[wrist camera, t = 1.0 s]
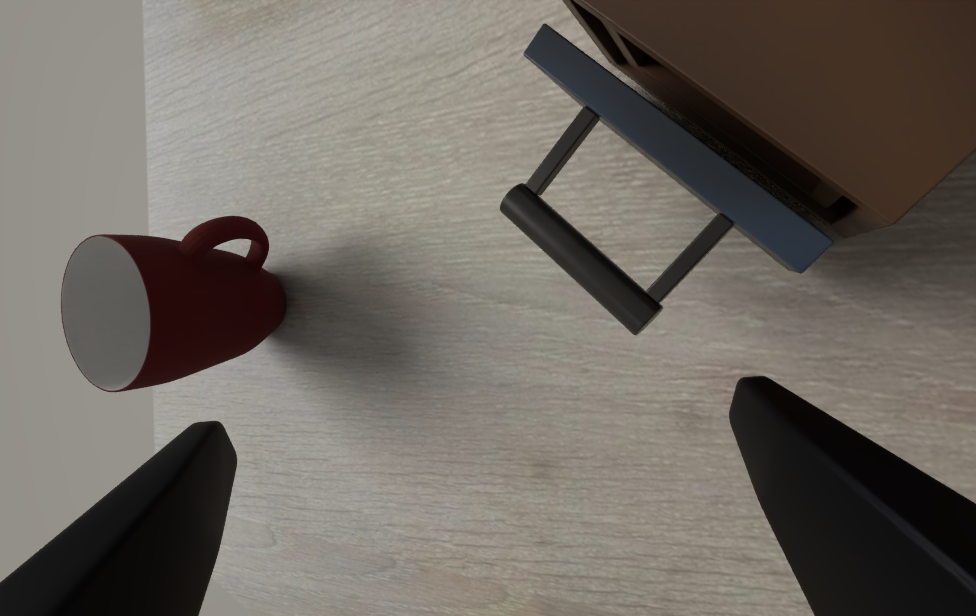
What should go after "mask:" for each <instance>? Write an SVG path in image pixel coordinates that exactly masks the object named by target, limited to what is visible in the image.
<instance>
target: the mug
mask: <svg viewBox="0 0 976 616" xmlns="http://www.w3.org/2000/svg"><path fill="white" fill-rule="evenodd" d="M234 239H250V240H251V246H250V250H249V252H248V254H247V256H246V258H245V257H243V256H240V255H237V254H234V253H231V252H227V251H222V250H218V249H213V248H214V247H215V246H217V245H219V244H221V243H224V242H227V241H229V240H234ZM268 251H269V242H268V238H267V235H266V234H265V232H264V230H263V229H262V228H261V227H260V226H259V225H258V224H257V223H256V222H254V221H252V220H250V219H248V218H245V217H240V216H225V217H220V218H216V219H212V220H209V221H207V222H204V223H202V224H200V225H198V226H197V227H195V228H194V229H192V230H191V231H190V232H189V233H188V234H187V235H186V236H185V237H184V239H183V240H182V242H181V241H176V240H171V239H166V238H160V237H152V236H141V235H140V236H139V235H95V236H91V237H89V238H87V239H85V240H84V241H83V242H81V243H80V244H79V246H78V247H77V248H76V249H75V251H74V252H73V254H72V255H71V257H70V259H69V261H68V264H67V267H66V270H65V273H64V278H63V283H62V292H61V314H62V323H63V328H64V333H65V337H66V341H67V344H68V347H69V350H70V352H71V355H72V357H73V359H74V361H75V363H76V364H77V366H78V368H79V369H80V371H81V372H82V374H83V375H84V376H85V377H86V378H87V379H88V380H89V381H90V382H91V383H92V384H93V385H95V386H96V387H98V388H100V389H101V390H104V391H107V392H121V391H127V390H132V389H138V388H144V387H149V386H154V385H159V384H163V383H167V382H171V381H174V380H177V379H180V378H183V377H186V376H188V375H191V374H194V373H196V372H199V371H201V370H204V369H207V368H209V367H212V366H215V365H217V364H220V363H222V362H225V361H228V360H230V359H233V358H235V357H238V356H240V355H243V354H245V353H246V352H248V351H250V350H251V349H253V348H254V347H256V346H257V345H258V344H260V343H261V342H262V341H263V340H264V339H265V338H266V337H268V336H269V335H270V334H271V333H272V332H273V331H274V330H275V329H276V328H277V327H278V326H279V325H280V323H281V322H282V320H283V318H284V315H285V310H286V298H285V293H284V290H283V288H282V285H281V284H280V282H279V281H278V280H277V278H276V277H274V276H273V275H272V274H271V273H269V272H268V271H266V270H265V269H263V268H262V265H263V264H264V262H265V260H266V258H267V255H268Z"/></svg>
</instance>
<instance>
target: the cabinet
mask: <svg viewBox="0 0 976 616" xmlns="http://www.w3.org/2000/svg"><path fill="white" fill-rule="evenodd" d="M563 2H564V3H565V4H566V6H567V7H568V8H569V10H570V11H571V12H572V14H573V15H574V16H575V18H576V19H577V20H578V22H579V23H580V24H581V26H582V27H583V28H584V30H585V31H586V32H587V34H588V35H589V36H590V38H591V39H592V40H593V42H594V43H595V44H596V46H597V47H598V48H599V50H600V51H601V52H602V54H603V55H604V56H605V57H606V59H607V60H608V61H609V63H611V64H612V65H613V66H615V67H616V68H617V69H619V70H620V71H621V72H623V73H624V74H625V75H627V76H628V77H629V78H631V79H632V80H633V81H635V82H636V83H637V84H639V85H640V86H641V87H643V88H644V89H645V90H647V91H648V92H649V93H651V94H652V95H653V96H655V97H656V98H657V99H659V100H660V101H661V102H663V103H664V104H666V105H667V106H668V107H670V108H671V109H672V110H674V111H675V112H676V113H678V114H679V115H680V116H682V117H683V118H684V119H686V120H687V121H688V122H690V123H691V124H692V125H694V126H695V127H696V128H698V129H699V130H700V131H702V132H703V133H704V134H706V135H707V136H708V137H710V138H711V139H712V140H714V141H715V142H716V143H718V144H719V145H720V146H722V147H723V148H724V149H726V150H727V151H728V152H730V153H731V154H732V155H734V156H735V157H736V158H738V159H739V160H740V161H742V162H743V163H744V164H746V165H747V166H748V167H750V168H751V169H752V170H754V171H755V172H756V173H758V174H759V175H761V176H762V177H763V178H765V179H766V180H767V181H769V182H770V183H771V184H773V185H774V186H775V187H777V188H778V189H779V190H781V191H782V192H783V193H785V194H786V195H787V196H789V197H790V198H791V199H793V200H794V201H795V202H797V203H798V204H799V205H801V206H802V207H803V208H805V209H806V210H807V211H809V212H810V213H811V214H813V215H814V216H815V217H817V218H818V219H819V220H821V221H822V222H823V223H825V224H826V225H827V226H829V227H830V228H831V229H833V230H834V231H835V232H837V233H838V234H839V235H841V236H842V237H843V238H848V237H851V236H855V235H858V234H862V233H865V232H868V231H872V230H875V229H879V228H882V227H885V226H889V225H893V224H895V223H896V222H897V221H899V220H900V219H901V218H902V217H903V216H904V215H905V214H906V213H907V212H908V211H909V210H911V209H912V208H913V207H914V206H915V205H916V204H917V203H918V202H919V201H920V200H922V199H923V198H924V197H925V196H926V195H927V194H928V193H929V192H930V191H931V190H932V189H934V188H935V187H936V186H937V185H938V184H939V183H940V182H941V181H942V180H943V179H945V178H946V177H947V176H948V175H949V174H950V173H951V172H952V171H953V170H954V169H955V168H957V167H958V166H959V165H960V164H961V163H962V162H963V161H964V160H965V159H966V158H967V157H969V156H970V155H971V154H972V153H973V152H974V151H975V150H976V0H563ZM601 21H602V22H604V23H605V24H607V25H608V26H609V27H611V28H612V29H614V30H615V31H616V32H618V33H619V34H620V35H622V36H623V37H625V38H626V39H627V40H629V41H630V42H632V43H633V44H634V45H636V46H637V47H639V48H640V49H641V50H643V51H644V52H645V53H647V54H648V55H650V56H651V57H652V58H654V59H655V60H657V61H658V62H659V63H661V64H662V65H663V66H665V67H666V68H668V69H669V70H670V71H672V72H673V73H675V74H676V75H677V76H679V77H680V78H681V79H683V80H684V81H686V82H687V83H688V84H690V85H691V86H693V87H694V88H695V89H697V90H698V91H700V92H701V93H702V94H704V95H705V96H706V97H708V98H709V99H711V100H712V101H713V102H715V103H716V104H718V105H719V106H720V107H722V108H723V109H724V110H726V111H727V112H729V113H730V114H731V115H733V116H734V117H736V118H737V119H738V120H740V121H741V122H742V123H744V124H745V125H747V126H748V127H749V128H751V129H752V130H754V131H755V132H756V133H758V134H759V135H761V136H762V137H763V138H765V139H766V140H767V141H769V142H770V143H772V144H773V145H774V146H776V147H777V148H779V149H780V150H781V151H783V152H784V153H785V154H787V155H788V156H790V157H791V158H792V159H794V160H795V161H797V162H798V163H799V164H801V165H802V166H803V167H805V168H806V169H808V170H809V171H810V172H812V173H813V174H815V175H816V176H817V177H819V178H820V179H822V180H823V181H824V182H826V183H827V184H828V185H830V186H831V187H833V188H834V189H835V190H837V191H838V192H840V193H841V194H842V195H843V196H842V197H841V198H840V199H838V200H837V201H836V202H835V203H834V204H832V205H831V206H830V207H829V208H824V207H823V206H822V205H820V204H819V203H818V202H816V201H815V200H814V199H812V198H811V197H809V196H808V195H807V194H805V193H804V192H803V191H801V190H800V189H799V188H797V187H796V186H795V185H793V184H792V183H790V182H789V181H788V180H786V179H785V178H784V177H782V176H781V175H780V174H778V173H777V172H776V171H774V170H773V169H772V168H770V167H769V166H767V165H766V164H765V163H763V162H762V161H761V160H759V159H758V158H757V157H755V156H754V155H753V154H751V153H750V152H748V151H747V150H746V149H744V148H743V147H742V146H740V145H739V144H738V143H736V142H735V141H734V140H732V139H731V138H729V137H728V136H727V135H725V134H724V133H723V132H721V131H720V130H719V129H717V128H716V127H715V126H713V125H712V124H710V123H709V122H708V121H706V120H705V119H704V118H702V117H701V116H700V115H698V114H697V113H696V112H694V111H693V110H692V109H690V108H689V107H687V106H686V105H685V104H683V103H682V102H681V101H679V100H678V99H677V98H675V97H674V96H673V95H671V94H670V93H668V92H667V91H666V90H664V89H663V88H662V87H660V86H659V85H658V84H656V83H655V82H654V81H652V80H651V79H649V78H648V77H647V76H645V75H644V74H643V73H641V72H640V71H639V70H637V69H636V68H635V67H633V66H632V65H630V64H629V62H628V61H627V59H626V58H625V57H624V55H623V54H622V52H621V51H620V49H619V47H618V46H617V44H616V43H615V41H614V40H613V38H612V37H611V35H610V34H609V32H608V31H607V29H606V28H605V26H604V25H603V23H602V22H601Z"/></svg>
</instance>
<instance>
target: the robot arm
mask: <svg viewBox="0 0 976 616" xmlns="http://www.w3.org/2000/svg"><path fill="white" fill-rule="evenodd" d="M729 419H730V424H731V427H732V430H733V432H734V435H735V438H736V441H737V443H738V446H739V449H740V451H741V454H742V457H743V460H744V462H745V465H746V468H747V471H748V473H749V476H750V479H751V482H752V484H753V487H754V490H755V492H756V495H757V497H758V500H759V503H760V505H761V507H762V509H763V511H764V513H765V516H766V518H767V520H768V522H769V524H770V526H771V528H772V530H773V532H774V534H775V536H776V538H777V540H778V542H779V544H780V546H781V548H782V550H783V552H784V554H785V556H786V558H787V560H788V562H789V564H790V566H791V568H792V570H793V572H794V574H795V576H796V578H797V580H798V582H799V584H800V586H801V588H802V591H803V593H804V595H805V597H806V599H807V601H808V603H809V605H810V607H811V609H812V611H813V613H814V615H815V616H976V504H975V503H974V502H972V501H970V500H969V499H967V498H965V497H964V496H962V495H960V494H959V493H957V492H956V491H954V490H952V489H951V488H949V487H947V486H946V485H944V484H942V483H941V482H939V481H937V480H936V479H934V478H932V477H931V476H929V475H928V474H926V473H924V472H923V471H921V470H919V469H918V468H916V467H914V466H913V465H911V464H909V463H908V462H906V461H904V460H903V459H901V458H899V457H898V456H896V455H895V454H893V453H891V452H890V451H888V450H886V449H885V448H883V447H881V446H880V445H878V444H876V443H875V442H873V441H871V440H870V439H868V438H867V437H865V436H863V435H862V434H860V433H858V432H857V431H855V430H853V429H852V428H850V427H848V426H847V425H845V424H843V423H842V422H840V421H838V420H837V419H835V418H834V417H832V416H830V415H829V414H827V413H825V412H824V411H822V410H820V409H819V408H817V407H815V406H814V405H812V404H810V403H809V402H807V401H806V400H804V399H802V398H801V397H799V396H797V395H796V394H794V393H792V392H791V391H789V390H787V389H786V388H784V387H782V386H781V385H779V384H778V383H776V382H774V381H773V380H771V379H769V378H767V377H765V376H753V377H743V378H741V379H740V380H739V381H738V382H737V385H736V389H735V392H734V396H733V400H732V403H731V407H730V411H729ZM236 467H237V455H236V452H235V449H234V447H233V445H232V443H231V441H230V439H229V437H228V435H227V432H226V430H225V428H224V426H223V425H222V424H221V423H220V422H219V421H207V422H197V423H194V424H192V425H191V426H189V427H188V428H187V429H186V430H184V431H183V432H182V433H181V434H179V435H178V436H177V437H176V438H175V439H173V440H172V441H171V442H170V443H169V444H167V445H166V446H165V447H164V448H163V449H161V450H160V451H159V452H158V453H156V454H155V455H154V456H153V457H152V458H151V459H149V460H148V461H147V462H146V463H144V464H143V465H142V466H141V467H140V468H138V469H137V470H136V471H135V472H134V473H132V474H131V475H130V476H129V477H128V478H126V479H125V480H124V481H123V482H121V483H120V484H119V485H118V486H117V487H115V488H114V489H113V490H112V491H111V492H109V493H108V494H107V495H106V496H104V497H103V498H102V499H101V500H100V501H99V502H97V503H96V504H95V505H94V506H93V507H91V508H90V509H89V510H88V511H86V512H85V513H84V514H83V515H82V516H81V517H79V518H78V519H77V520H75V521H74V522H73V523H72V524H71V525H70V526H68V527H67V528H66V529H65V530H63V531H62V532H61V533H60V534H59V535H57V536H56V537H55V538H54V539H52V540H51V541H50V542H49V543H48V544H46V545H45V546H44V547H43V548H42V549H40V550H39V551H38V552H37V553H35V554H34V555H33V556H32V557H31V558H30V559H28V560H27V561H26V562H25V563H23V564H22V565H21V566H20V567H19V568H17V569H16V570H15V571H14V572H12V573H11V574H10V575H9V576H8V577H6V578H5V579H4V580H3V581H2V582H0V616H198V615H199V612H200V609H201V606H202V602H203V600H204V596H205V593H206V590H207V587H208V584H209V581H210V578H211V575H212V572H213V569H214V565H215V562H216V559H217V555H218V552H219V548H220V544H221V540H222V535H223V531H224V526H225V521H226V516H227V511H228V506H229V501H230V496H231V492H232V487H233V482H234V477H235V472H236Z"/></svg>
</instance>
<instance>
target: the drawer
mask: <svg viewBox="0 0 976 616" xmlns="http://www.w3.org/2000/svg"><path fill="white" fill-rule="evenodd" d="M601 22H602V21H601ZM602 23H603V25H604V26H605V28H606V29H607V31H608V32H609V34H610V35H611V37H612V38H613V40H614V41H615V43H616V44H617V46H618V47H619V49H620V51H621V52H622V54H623V55H624V57H625V58H626V59H627V61H628V62H629V64H630V65H632V66H633V67H635V68H636V69H637V70H639V71H640V72H641V73H643V74H644V75H645V76H647V77H648V78H649V79H651V80H652V81H654V82H655V83H656V84H658V85H659V86H660V87H662V88H663V89H664V90H666V91H667V92H668V93H670V94H671V95H673V96H674V97H675V98H677V99H678V100H679V101H681V102H682V103H683V104H685V105H686V106H687V107H689V108H690V109H692V110H693V111H694V112H696V113H697V114H698V115H700V116H701V117H702V118H704V119H705V120H706V121H708V122H709V123H710V124H712V125H713V126H715V127H716V128H717V129H719V130H720V131H721V132H723V133H724V134H725V135H727V136H728V137H729V138H731V139H732V140H734V141H735V142H736V143H738V144H739V145H740V146H742V147H743V148H744V149H746V150H747V151H748V152H750V153H751V154H753V155H754V156H755V157H757V158H758V159H759V160H761V161H762V162H763V163H765V164H766V165H767V166H769V167H770V168H772V169H773V170H774V171H776V172H777V173H778V174H780V175H781V176H782V177H784V178H785V179H786V180H788V181H789V182H790V183H792V184H793V185H795V186H796V187H797V188H799V189H800V190H801V191H803V192H804V193H805V194H807V195H808V196H809V197H811V198H812V199H814V200H815V201H816V202H818V203H819V204H820V205H822V206H823V207H824V208H829V207H830V206H831V205H832V204H834V203H835V202H836V201H837V200H838V199H840V198H841V197H842V196H843V195H842V194H841V193H840V192H838V191H837V190H835V189H834V188H833V187H831V186H830V185H828V184H827V183H826V182H824V181H823V180H822V179H820V178H819V177H817V176H816V175H815V174H813V173H812V172H810V171H809V170H808V169H806V168H805V167H803V166H802V165H801V164H799V163H798V162H797V161H795V160H794V159H792V158H791V157H790V156H788V155H787V154H785V153H784V152H783V151H781V150H780V149H779V148H777V147H776V146H774V145H773V144H772V143H770V142H769V141H767V140H766V139H765V138H763V137H762V136H761V135H759V134H758V133H756V132H755V131H754V130H752V129H751V128H749V127H748V126H747V125H745V124H744V123H742V122H741V121H740V120H738V119H737V118H736V117H734V116H733V115H731V114H730V113H729V112H727V111H726V110H724V109H723V108H722V107H720V106H719V105H718V104H716V103H715V102H713V101H712V100H711V99H709V98H708V97H706V96H705V95H704V94H702V93H701V92H700V91H698V90H697V89H695V88H694V87H693V86H691V85H690V84H688V83H687V82H686V81H684V80H683V79H681V78H680V77H679V76H677V75H676V74H675V73H673V72H672V71H670V70H669V69H668V68H666V67H665V66H663V65H662V64H661V63H659V62H658V61H657V60H655V59H654V58H652V57H651V56H650V55H648V54H647V53H645V52H644V51H643V50H641V49H640V48H639V47H637V46H636V45H634V44H633V43H632V42H630V41H629V40H627V39H626V38H625V37H623V36H622V35H620V34H619V33H618V32H616V31H615V30H614V29H612V28H611V27H609V26H608V25H607V24H605V23H604V22H602ZM524 56H525V57H526V58H527V59H528V60H530V61H531V62H532V63H533V64H534V65H535V66H536V67H538V68H539V69H540V70H541V71H542V72H543V73H544V74H546V75H547V76H548V77H549V78H550V79H551V80H552V81H553V82H555V83H556V84H557V85H558V86H559V87H560V88H561V89H563V90H564V91H565V92H566V93H567V94H568V95H569V96H571V97H572V98H573V99H574V100H575V101H576V102H577V103H579V104H580V105H581V106H582V107H583V109H582V110H581V111H580V113H579V114H578V115H577V117H576V118H575V119H574V121H573V122H572V123H571V125H570V126H569V127H568V128H567V130H566V131H565V132H564V134H563V135H562V136H561V138H560V139H559V140H558V142H557V143H556V144H555V146H554V147H553V148H552V150H551V151H550V152H549V154H548V155H547V156H546V158H545V159H544V160H543V162H542V163H541V164H540V166H539V167H538V168H537V170H536V171H535V172H534V174H533V175H532V176H531V178H530V179H529V180H528V182H527V183H526V184H523V183H521V184H518V185H516V186H515V187H513V188H512V189H511V190H510V191H509V192H508V193H507V194H506V196H505V197H504V199H503V200H502V202H501V205H500V210H501V212H502V213H503V214H504V215H505V216H506V217H507V218H508V219H509V220H511V221H512V222H513V223H514V224H515V225H516V226H517V227H518V228H519V229H520V230H521V231H522V232H524V233H525V234H526V235H527V236H528V237H529V238H530V239H531V240H532V241H533V242H534V243H535V244H536V245H538V246H539V247H540V248H541V249H542V250H543V251H544V252H545V253H546V254H547V255H548V256H549V257H550V258H552V259H553V260H554V261H555V262H556V263H557V264H558V265H559V266H560V267H561V268H562V269H563V270H564V271H566V272H567V273H568V274H569V275H570V276H571V277H572V278H573V279H574V280H575V281H576V282H577V283H578V284H580V285H581V286H582V287H583V288H584V289H585V290H586V291H587V292H588V293H589V294H590V295H591V296H592V297H594V298H595V299H596V300H597V301H598V302H599V303H600V304H601V305H602V306H603V307H604V308H605V309H607V310H608V311H609V312H610V313H611V314H612V315H613V316H614V317H615V318H616V319H617V320H618V321H619V322H621V323H622V324H623V325H624V326H625V327H626V328H627V329H628V330H629V331H630V332H631V333H632V334H633V335H638V334H639V333H640V332H641V331H642V330H644V329H645V328H646V327H647V326H648V325H649V324H650V323H651V322H652V321H653V320H654V319H655V318H656V316H657V315H658V314H659V313H660V312H661V311H662V309H663V306H662V305H661V304H660V302H662V301H663V300H664V299H665V298H666V297H667V296H668V295H669V294H670V293H671V291H672V290H673V289H674V288H675V287H676V286H677V285H678V284H679V283H680V282H681V281H682V280H683V279H684V278H685V277H686V276H687V275H688V274H689V273H690V272H691V271H692V270H693V269H694V267H695V266H696V265H697V264H698V263H699V262H700V261H701V260H702V259H703V258H704V257H705V256H706V255H707V254H708V253H709V252H710V251H711V250H712V249H713V248H714V247H715V246H716V245H717V243H718V242H719V241H720V240H721V239H722V238H723V237H724V236H725V235H726V234H727V233H728V232H729V231H730V230H731V229H732V228H733V227H734V228H735V229H737V230H738V231H739V232H741V233H742V234H743V235H744V236H746V237H747V238H748V239H749V240H751V241H752V242H753V243H754V244H756V245H757V246H758V247H759V248H761V249H762V250H763V251H764V252H766V253H767V254H768V255H769V256H771V257H772V258H773V259H774V260H776V261H777V262H778V263H780V264H781V265H782V266H783V267H785V268H786V269H787V270H789V271H793V272H796V273H800V274H801V273H803V272H804V271H805V270H806V269H807V268H808V267H809V266H811V265H812V264H813V263H814V262H815V261H816V260H817V259H818V258H819V257H820V256H821V255H822V254H823V253H824V252H825V251H826V250H828V249H829V248H830V247H831V246H832V245H833V244H834V241H833V240H832V239H831V238H829V237H828V236H827V235H825V234H824V233H823V232H821V231H820V230H819V229H817V228H816V227H815V226H814V225H812V224H811V223H810V222H808V221H807V220H806V219H804V218H803V217H802V216H800V215H799V214H798V213H796V212H795V211H794V210H792V209H791V208H790V207H788V206H787V205H786V204H784V203H783V202H782V201H780V200H779V199H778V198H776V197H775V196H774V195H772V194H771V193H770V192H768V191H767V190H766V189H764V188H763V187H762V186H760V185H759V184H758V183H756V182H755V181H754V180H752V179H751V178H750V177H749V176H747V175H746V174H745V173H743V172H742V171H741V170H739V169H738V168H737V167H735V166H734V165H733V164H731V163H730V162H729V161H727V160H726V159H725V158H723V157H722V156H721V155H719V154H718V153H717V152H715V151H714V150H713V149H711V148H710V147H709V146H707V145H706V144H705V143H703V142H702V141H701V140H699V139H698V138H697V137H695V136H694V135H693V134H691V133H690V132H689V131H687V130H686V129H685V128H684V127H682V126H681V125H680V124H678V123H677V122H676V121H674V120H673V119H672V118H670V117H669V116H668V115H666V114H665V113H664V112H662V111H661V110H660V109H658V108H657V107H656V106H654V105H653V104H652V103H650V102H649V101H648V100H646V99H645V98H644V97H642V96H641V95H640V94H638V93H637V92H636V91H634V90H633V89H632V88H630V87H629V86H628V85H626V84H625V83H624V82H623V81H621V80H620V79H619V78H617V77H616V76H615V75H613V74H612V73H611V72H609V71H608V70H607V69H605V68H604V67H603V66H601V65H600V64H599V63H597V62H596V61H595V60H593V59H592V58H591V57H589V56H588V55H587V54H585V53H584V52H583V51H581V50H580V49H579V48H577V47H576V46H575V45H573V44H572V43H571V42H569V41H568V40H567V39H565V38H564V37H563V36H561V35H560V34H559V33H558V32H556V31H555V30H554V29H552V28H551V27H550V26H548V25H547V24H543V25H542V27H541V28H540V30H539V31H538V33H537V34H536V36H535V37H534V39H533V40H532V41H531V43H530V44H529V46H528V47H527V49H526V50H525V52H524ZM599 120H600V121H601V122H602V123H603V124H605V125H606V126H607V127H608V128H610V129H611V130H612V131H613V132H615V133H616V134H617V135H618V136H620V137H621V138H622V139H624V140H625V141H626V142H627V143H629V144H630V145H631V146H632V147H634V148H635V149H636V150H637V151H639V152H640V153H641V154H642V155H644V156H645V157H646V158H647V159H649V160H650V161H651V162H652V163H654V164H655V165H656V166H657V167H659V168H660V169H661V170H663V171H664V172H665V173H666V174H668V175H669V176H670V177H671V178H673V179H674V180H675V181H676V182H678V183H679V184H680V185H681V186H683V187H684V188H685V189H686V190H688V191H689V192H690V193H691V194H693V195H694V196H695V197H696V198H698V199H699V200H700V201H702V202H703V203H704V204H705V205H707V206H708V207H709V208H710V209H712V210H713V211H714V212H715V213H717V214H718V215H717V216H716V217H715V218H714V219H713V220H712V221H711V222H710V223H709V224H708V225H707V226H706V227H705V228H704V230H703V231H702V232H701V233H700V234H699V235H698V236H697V237H696V238H695V239H694V240H693V241H692V242H691V243H690V245H689V246H688V247H687V248H686V249H685V250H684V251H683V252H682V253H681V254H680V255H679V256H678V257H677V258H676V259H675V261H674V262H673V263H672V264H671V265H670V266H669V267H668V268H667V269H666V270H665V271H664V272H663V273H662V274H661V276H660V277H659V278H658V279H657V280H656V281H655V282H654V283H653V284H652V285H651V286H650V287H649V288H648V289H647V290H646V291H645V290H644V289H643V288H642V287H641V286H639V285H638V284H637V283H636V282H635V281H634V280H633V279H632V278H630V277H629V276H628V275H627V274H626V273H625V272H624V271H623V270H621V269H620V268H619V267H618V266H617V265H616V264H615V263H614V262H612V261H611V260H610V259H609V258H608V257H607V256H606V255H605V254H603V253H602V252H601V251H600V250H599V249H598V248H597V247H596V246H594V245H593V244H592V243H591V242H590V241H589V240H588V239H587V238H585V237H584V236H583V235H582V234H581V233H580V232H579V231H578V230H576V229H575V228H574V227H573V226H572V225H571V224H570V223H569V222H567V221H566V220H565V219H564V218H563V217H562V216H561V215H560V214H558V213H557V212H556V211H555V210H554V209H553V208H552V207H551V206H549V205H548V204H547V203H546V202H545V201H544V200H543V199H542V198H540V197H539V196H538V195H542V194H543V192H544V191H545V190H546V188H547V187H548V186H549V184H550V183H551V182H552V181H553V179H554V178H555V177H556V175H557V174H558V173H559V172H560V170H561V169H562V168H563V166H564V165H565V164H566V162H567V161H568V160H569V159H570V157H571V156H572V155H573V153H574V152H575V151H576V150H577V148H578V147H579V146H580V144H581V143H582V142H583V141H584V139H585V138H586V137H587V135H588V134H589V133H590V131H591V130H592V129H593V128H594V126H595V125H596V124H597V122H598V121H599Z"/></svg>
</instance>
